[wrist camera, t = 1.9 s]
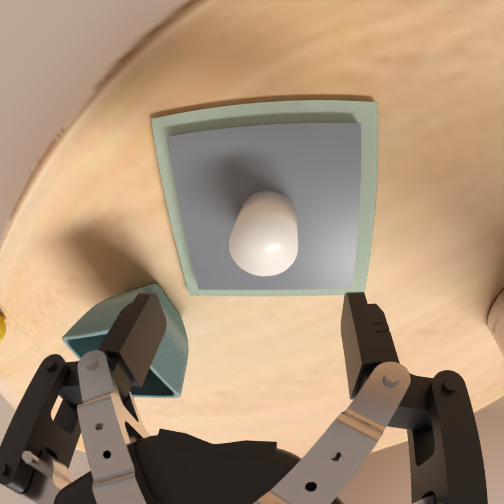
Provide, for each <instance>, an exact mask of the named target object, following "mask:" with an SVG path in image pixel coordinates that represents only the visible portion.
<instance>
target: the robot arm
mask: <svg viewBox="0 0 504 504" xmlns="http://www.w3.org/2000/svg"><path fill="white" fill-rule="evenodd" d="M116 319H117V320H115V321H114V323H113V326H112V327H111V328H110V330H109V331H108V333H107V335H106V336H105V338H104V340H103V341H102V343H101V345H100V346H99V348H98V350H93V351H90V352H87V353H86V354H84V355H83V356H82V357H81V359H80V360H79V361H76V362H65V360H64V359H63V358H62V357H61V356H60V355H58V354H53V355H50V356H48V357H46V358H45V359H44V360H43V361H42V363H41V365H40V366H39V368H38V370H37V372H36V373H35V375H34V377H33V379H32V381H31V383H30V384H29V386H28V388H27V390H26V392H25V394H24V396H23V398H22V400H21V402H20V404H19V406H18V408H17V410H16V412H15V414H14V416H13V418H12V421H11V423H10V425H9V427H8V429H7V432H6V434H5V437H4V439H3V441H2V444H1V446H0V484H2V485H4V486H6V487H7V488H10V489H11V490H13V491H14V492H15V493H17V494H19V495H21V496H23V497H25V498H27V499H29V500H31V501H34V502H36V503H37V504H344V503H343V502H342V501H341V500H340V499H339V498H338V497H337V496H338V495H339V493H340V492H341V491H342V490H343V489H344V487H345V486H346V485H347V483H348V482H349V481H350V480H351V478H352V477H353V476H354V475H355V473H356V472H357V471H358V469H359V468H360V466H361V465H362V464H363V462H364V461H365V460H366V458H367V457H368V455H369V454H370V452H371V451H372V449H373V448H374V446H375V445H376V443H377V442H378V440H379V439H380V437H381V435H382V434H383V431H384V430H385V428H386V426H390V427H396V428H403V429H407V434H408V443H409V455H410V468H411V491H412V504H488V501H487V488H486V479H485V470H484V463H483V457H482V452H481V446H480V440H479V435H478V431H477V426H476V422H475V418H474V413H473V409H472V406H471V402H470V398H469V395H468V391H467V388H466V385H465V382H464V380H463V378H462V377H461V376H460V375H459V374H458V373H456V372H454V371H451V370H444V371H441V372H439V373H437V374H436V375H435V377H434V378H427V377H420V376H415V375H412V374H410V373H409V372H408V370H407V369H406V368H405V367H404V366H403V365H401V364H400V363H399V360H398V356H397V353H396V350H395V346H394V343H393V340H392V336H391V333H390V332H389V327H388V324H387V321H386V318H385V315H384V312H383V311H382V310H381V309H380V308H379V306H378V305H377V304H367V300H366V297H365V294H364V292H347V293H345V296H344V304H343V311H342V318H341V335H342V342H343V349H344V355H345V363H346V370H347V378H348V386H349V394H350V399H354V400H353V401H352V403H351V404H350V405H349V407H348V408H347V409H346V410H345V411H344V412H342V413H341V414H340V415H339V416H338V417H337V418H336V419H335V420H334V422H333V423H332V424H331V425H330V427H329V428H328V429H327V430H326V432H325V433H324V434H323V435H322V436H321V438H320V439H319V440H318V441H317V442H316V443H315V445H314V446H313V447H312V448H311V449H310V450H309V451H308V452H307V454H306V455H305V456H304V457H303V458H302V459H301V458H300V457H298V456H296V455H294V454H292V453H290V452H288V451H285V450H282V449H278V448H277V442H267V441H247V440H245V441H238V442H231V443H222V444H211V443H209V442H206V441H203V440H201V439H198V438H196V437H193V436H191V435H189V434H186V433H181V432H175V431H170V430H165V429H160V430H159V433H158V435H155V436H149V434H148V433H147V431H146V429H145V428H144V426H143V423H142V421H141V418H140V415H139V413H138V410H137V407H136V404H135V401H134V398H133V395H132V393H131V392H130V390H131V387H132V386H136V387H141V388H142V386H143V383H144V381H145V378H146V376H147V373H148V371H149V369H150V366H151V364H152V362H153V359H154V357H155V354H156V352H157V350H158V347H159V345H160V343H161V340H162V338H163V336H164V334H165V331H166V327H167V321H166V317H165V314H164V312H163V309H162V306H161V303H160V301H159V298H158V295H157V294H156V293H146V292H140V293H138V294H137V296H136V298H135V299H134V301H133V302H132V303H129V304H128V305H127V306H126V307H124V308H123V309H122V310H121V312H120V313H119V315H118V316H117V318H116ZM487 325H488V328H489V330H490V332H491V333H492V335H493V337H494V339H495V341H496V343H497V345H498V347H499V348H500V351H501V353H502V355H503V357H504V290H503V291H502V292H501V294H500V295H499V296H498V298H497V299H496V300H495V302H494V304H493V306H492V308H491V310H490V312H489V315H488V320H487ZM58 395H59V396H60V397H61V398H62V399H63V400H62V403H61V405H60V407H59V409H58V412H57V414H56V416H55V418H54V421H53V420H52V418H51V410H52V408H53V406H54V404H55V401H56V399H57V397H58ZM81 433H82V437H83V442H84V446H85V450H86V454H87V458H88V462H89V465H90V469H91V471H90V472H88V473H87V474H85V475H84V476H82V477H80V478H78V479H77V480H75V481H74V482H73V480H72V478H71V477H70V475H69V471H68V468H69V465H70V462H71V459H72V456H73V453H74V450H75V448H76V445H77V442H78V439H79V436H80V434H81Z"/></svg>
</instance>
